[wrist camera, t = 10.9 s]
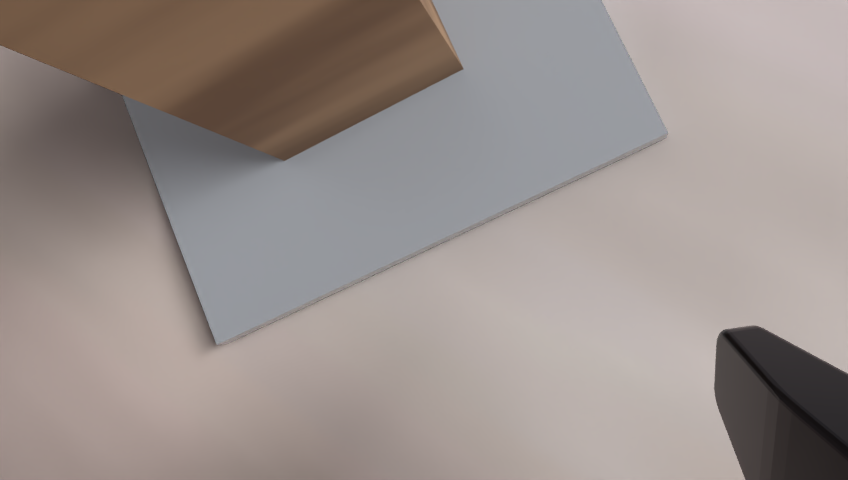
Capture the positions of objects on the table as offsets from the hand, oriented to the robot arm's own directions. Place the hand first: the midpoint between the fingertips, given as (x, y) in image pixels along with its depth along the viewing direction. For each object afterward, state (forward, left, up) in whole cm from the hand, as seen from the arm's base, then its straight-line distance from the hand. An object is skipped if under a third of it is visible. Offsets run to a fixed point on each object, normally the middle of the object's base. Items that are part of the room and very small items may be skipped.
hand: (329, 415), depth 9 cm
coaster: (+9, 0, -10) cm, 13 cm away
